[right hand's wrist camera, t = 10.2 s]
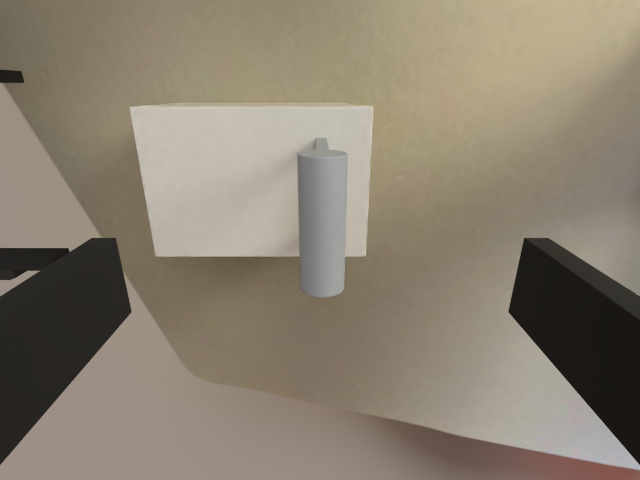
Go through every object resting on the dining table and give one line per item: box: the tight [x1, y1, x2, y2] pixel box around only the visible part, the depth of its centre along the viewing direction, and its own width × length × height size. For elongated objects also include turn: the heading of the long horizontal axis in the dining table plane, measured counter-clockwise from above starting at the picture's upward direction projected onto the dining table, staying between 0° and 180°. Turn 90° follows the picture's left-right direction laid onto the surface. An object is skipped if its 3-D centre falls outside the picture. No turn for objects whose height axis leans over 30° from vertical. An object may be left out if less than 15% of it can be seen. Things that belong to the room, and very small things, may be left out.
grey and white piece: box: [129, 106, 373, 298], centre depth 21 cm, size 15×10×10 cm
